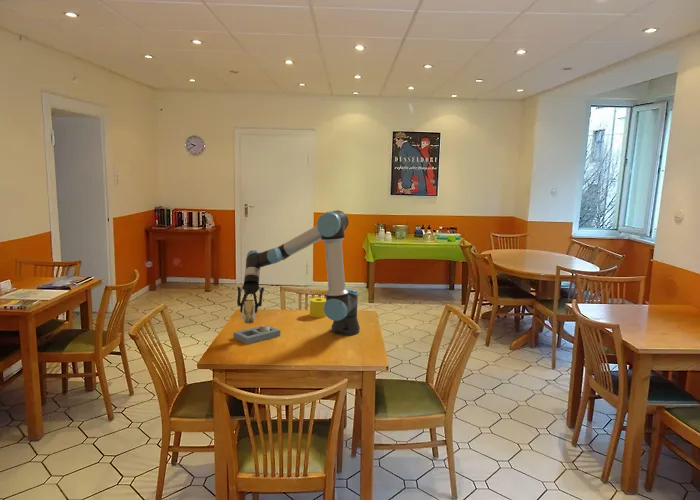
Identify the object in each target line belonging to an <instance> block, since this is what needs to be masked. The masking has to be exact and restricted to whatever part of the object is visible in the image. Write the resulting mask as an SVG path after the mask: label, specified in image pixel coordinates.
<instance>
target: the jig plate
mask: <svg viewBox="0 0 700 500" xmlns="http://www.w3.org/2000/svg"><path fill="white" fill-rule="evenodd" d="M266 325H267V326H270V325H269V324H266ZM260 326H261V325H260ZM260 326H255V327H251V328H246V329H242V330H237V331H234V332H233V334H232V335H233V339H234V340H236V341H239V342H241V343H243V344H245V345H250V344H255V343H259V342H263V341H267V340H270V339H273V338H278V337H281V330H280V329H278V328H276V327H274V326H270V331H267V332H261V331H259V327H260Z"/></svg>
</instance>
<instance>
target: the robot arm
mask: <svg viewBox="0 0 700 500" xmlns="http://www.w3.org/2000/svg"><path fill="white" fill-rule="evenodd" d="M349 222H350V221H349V218H348V215H347V214H346V213H345V212H344V211H342V210H339V209H338V210H333V211H327V212H324V213H322V214H321V215H320V216H319V217H318V219H317V221H316V225H315V226H313V227H312V228H310V229H308V230H307V231H304V232H303V233H301V234H299V235H297V236H295V237H294V238H292V239H290V240H287V242H285V243H283V244H281V245H279V246H277V247H274V248H270V249H267V250H264V251H259V250H252V249H251V250H249V251H248V252H247V254H246V258H245V270H244V279H243V284H242V286H237V287H236V289H237V300H236V301H237V302H236V303H237V307H240V308H239V311H240V313H241V320H244V301H245V300H247V298H248V296H249V295H253V296H252V297H253V300H254V306H253V321H254V320H255V316H256V314H257V313H258V308H259V307H262V305H263V304H262V303H263V294H264V292H265V288H264V287H260V285H259V284H260V273H261V268H263V267H266V266H271V265H273V264H276V263H279V262H281V261H285V260H286V259H288V258H289V257H290V256H293V255H295V254H297V253H298V252H300V251H303V250H304V249H306V248H308V247H310V246H311V245H313V244H315V243H317V242H320V241H322V242H323V243H324V252H325V253H324V254H325V263H326V266H325V267H326V275H327V277H326V278H327V287H328V288H327V289H328V290H327V291H326V292H325V299H326V303H325V305H324V312H325V314H326V316H327V318H328V319H329V320H331V321H333V322H332V324H331V328H330V330H331V332H332V333H333V334H336V335H341V336H352V335H357V334H359V333H360V329H361V328H360V325H359V319H358V298H359V293H358V290H357V289H356V288H351V287H350V288H348V287H346V281H345V279H346V278H345V267H344V266H345V265H344V252H343V241H344V240H345V231H346V229H348V227H349ZM243 291H244V294H243V297H242V292H243ZM258 291H259V297H258V299H257V292H258ZM241 297H242V300H241Z"/></svg>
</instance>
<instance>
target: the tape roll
mask: <svg viewBox="0 0 700 500" xmlns="http://www.w3.org/2000/svg"><path fill="white" fill-rule="evenodd" d="M309 301H310V302H309V303H310V304H309V316H310V317H312V318H315V319H322V318H326V317H327V316H326V314H325V312H324V305H325V303H326V297H325V298H323V297H311V298H310V300H309ZM327 318H328V317H327Z"/></svg>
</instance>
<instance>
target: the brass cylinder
mask: <svg viewBox="0 0 700 500" xmlns="http://www.w3.org/2000/svg"><path fill="white" fill-rule="evenodd" d="M254 305H255V302H254V299H246V300H245V301H244V319H243V320H244V321H243V323H244V324H248V325H249V324H253V323H254V320H253V306H254Z"/></svg>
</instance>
